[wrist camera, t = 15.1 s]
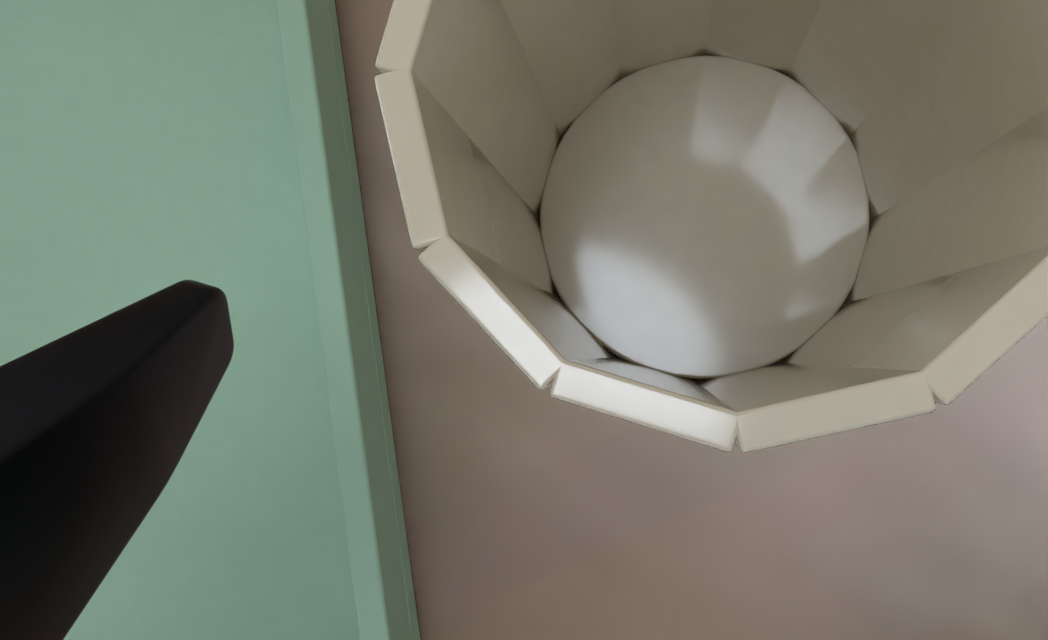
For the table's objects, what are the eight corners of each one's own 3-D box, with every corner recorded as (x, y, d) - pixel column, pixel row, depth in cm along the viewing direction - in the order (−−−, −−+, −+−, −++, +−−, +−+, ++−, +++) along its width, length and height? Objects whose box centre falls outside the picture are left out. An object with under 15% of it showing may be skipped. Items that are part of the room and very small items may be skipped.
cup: (960, 222, 19) (1333, 59, 8) (693, 468, 19) (732, 600, 9) (706, -25, 20) (757, -449, 9) (456, 217, 20) (243, 72, 10)
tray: (435, 747, 20) (409, 793, 18) (-164, 802, 22) (-251, 849, 20) (317, -134, 21) (280, -189, 19) (-244, -10, 23) (-334, -46, 21)
